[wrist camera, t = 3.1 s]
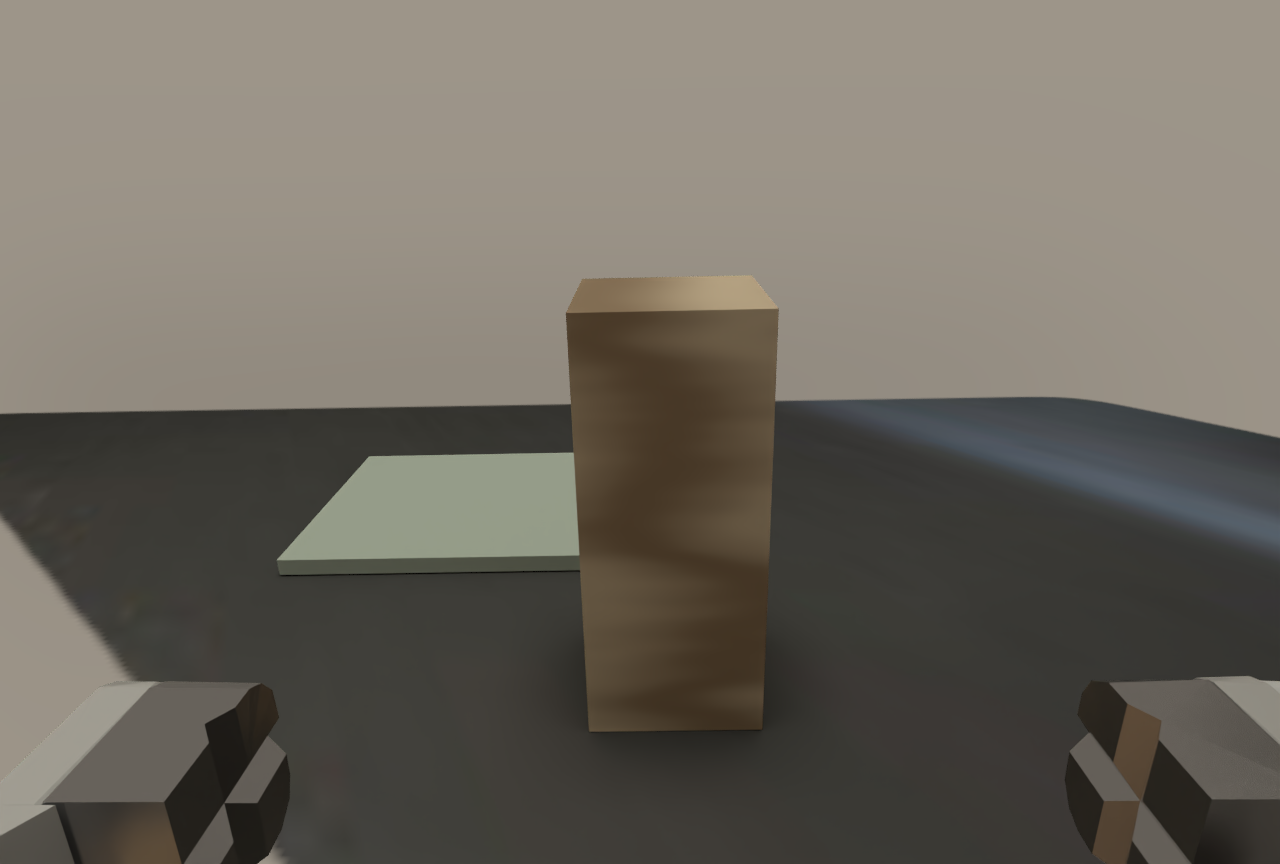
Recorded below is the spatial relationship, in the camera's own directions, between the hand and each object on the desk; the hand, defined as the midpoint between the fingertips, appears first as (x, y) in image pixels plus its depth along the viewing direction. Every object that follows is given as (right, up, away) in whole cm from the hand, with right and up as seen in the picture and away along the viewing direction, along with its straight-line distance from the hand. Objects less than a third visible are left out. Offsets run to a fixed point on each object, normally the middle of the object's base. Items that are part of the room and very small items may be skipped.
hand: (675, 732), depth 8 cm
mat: (-6, 0, +25) cm, 26 cm away
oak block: (+1, -4, +15) cm, 15 cm away
